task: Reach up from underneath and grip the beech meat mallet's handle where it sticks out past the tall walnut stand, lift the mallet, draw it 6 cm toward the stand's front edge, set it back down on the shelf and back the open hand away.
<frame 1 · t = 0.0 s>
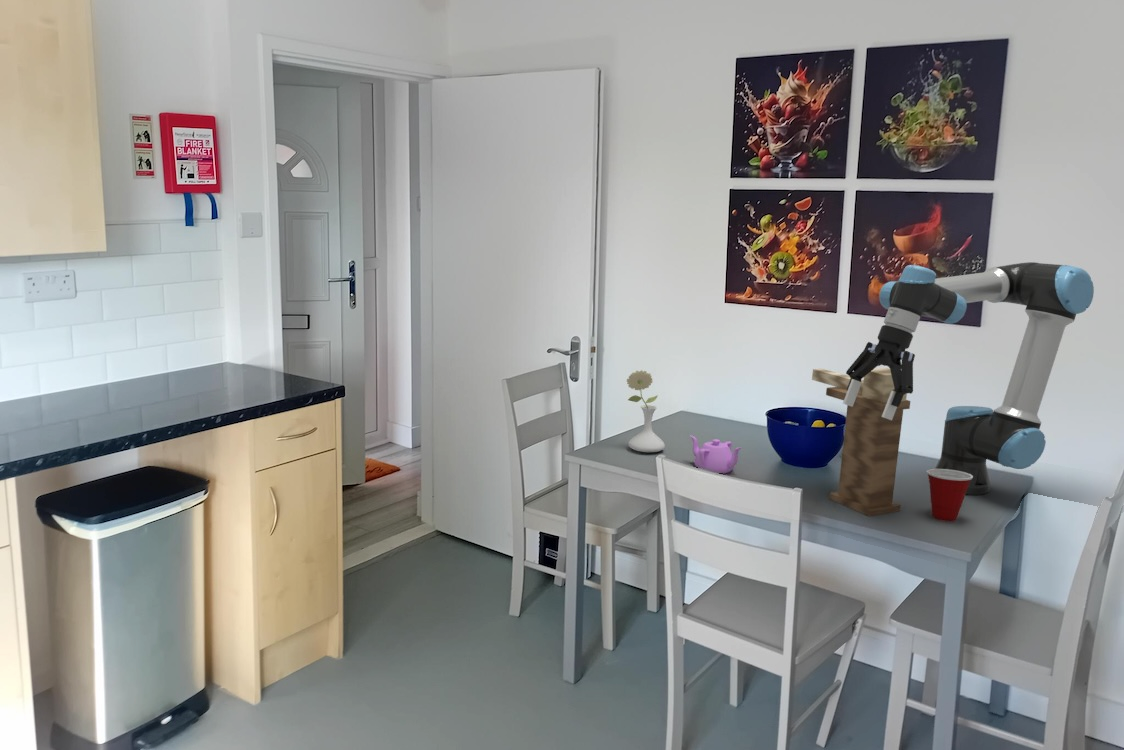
hand: (866, 411, 213), 28 cm above the table, tool tilted 20°, fingers open, 13 cm apart
walnut stand: (854, 500, 233), on the table
meat mallet: (883, 398, 222), point 29 cm above the table, touching walnut stand
flower in vase: (643, 450, 272), on the table
teapot: (713, 469, 256), on the table
plastic cup: (943, 518, 223), on the table
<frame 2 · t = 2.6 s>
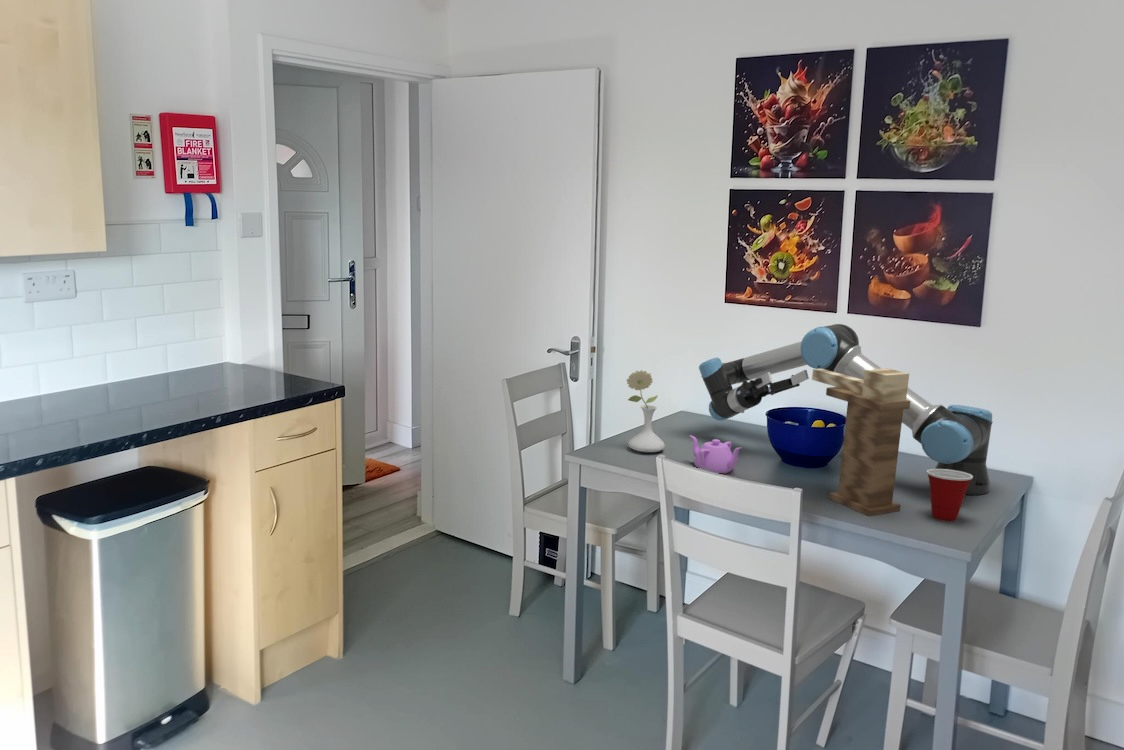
hand: (788, 375, 253), 28 cm above the table, tool pointing upward, fingers open, 13 cm apart
nothing on the table moved.
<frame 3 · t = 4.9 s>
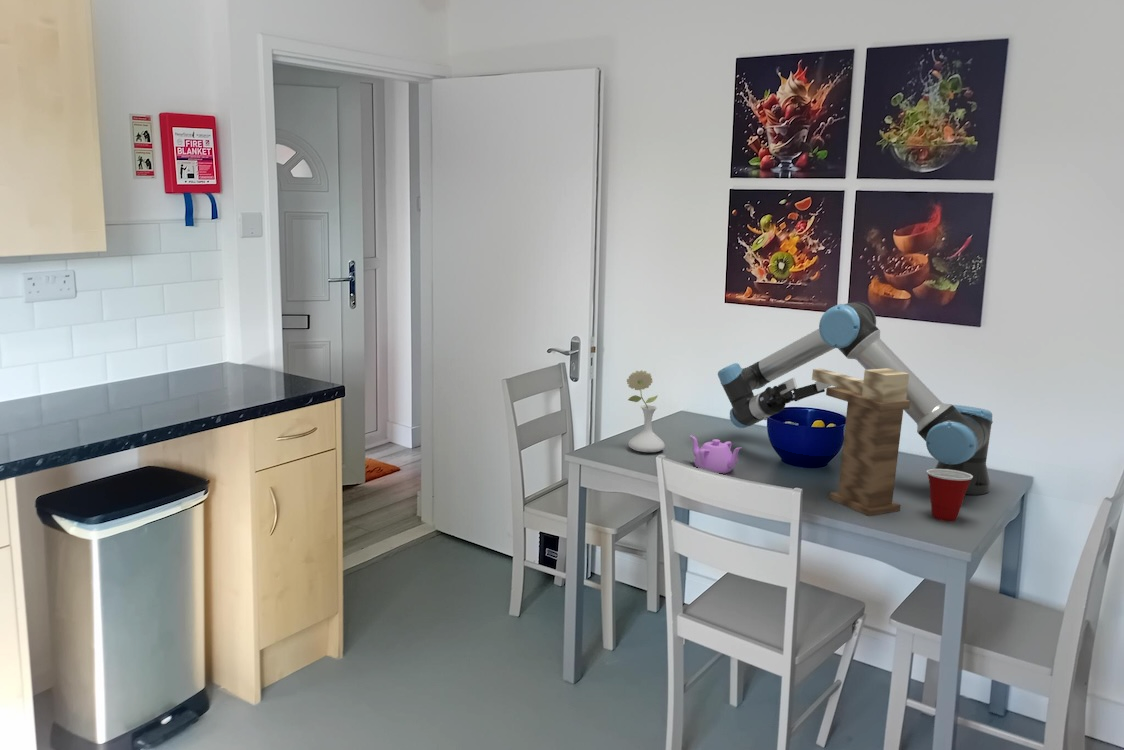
hand: (814, 380, 244), 29 cm above the table, tool pointing upward, fingers open, 13 cm apart
nothing on the table moved.
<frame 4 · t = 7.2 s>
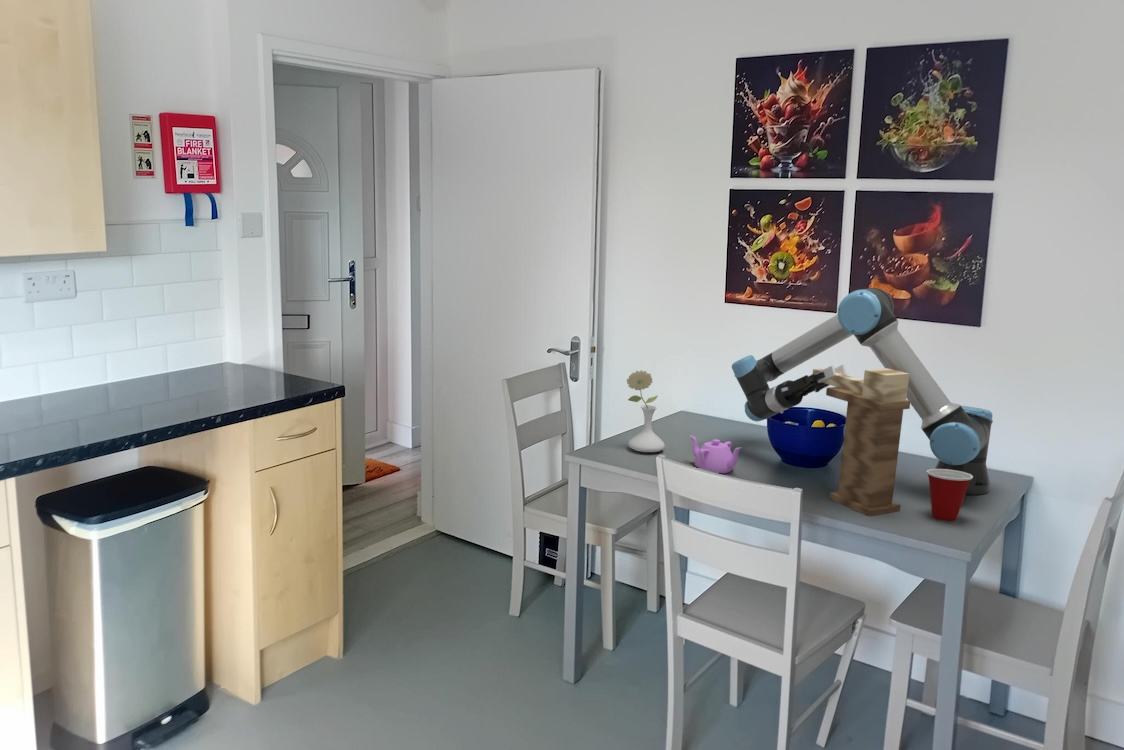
hand: (839, 370, 236), 33 cm above the table, tool pointing upward, fingers closed on meat mallet, 3 cm apart
meat mallet: (883, 398, 222), point 29 cm above the table, touching gripper, walnut stand
everything else where it was.
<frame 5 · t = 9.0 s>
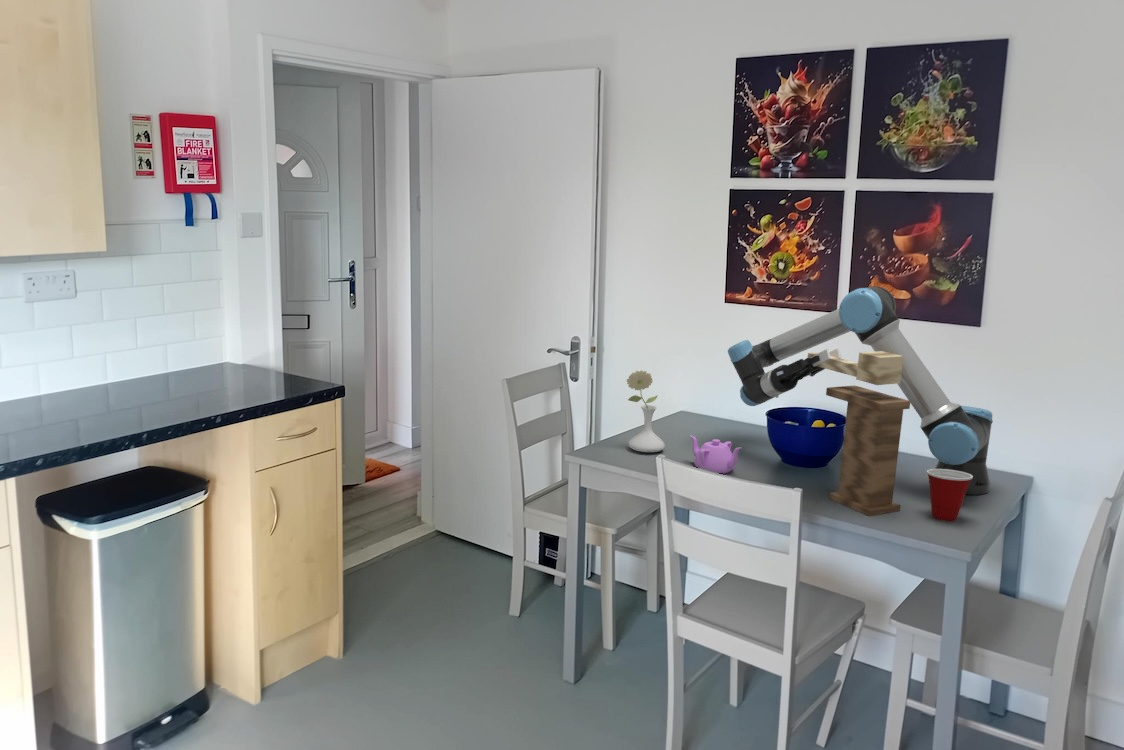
hand: (833, 353, 237), 37 cm above the table, tool pointing upward, fingers closed on meat mallet, 3 cm apart
meat mallet: (878, 381, 224), point 33 cm above the table, touching gripper
everything else where it was.
when the fingers open (34 cm above the table, at t = 10.9 s): meat mallet stays where it is, resting on walnut stand.
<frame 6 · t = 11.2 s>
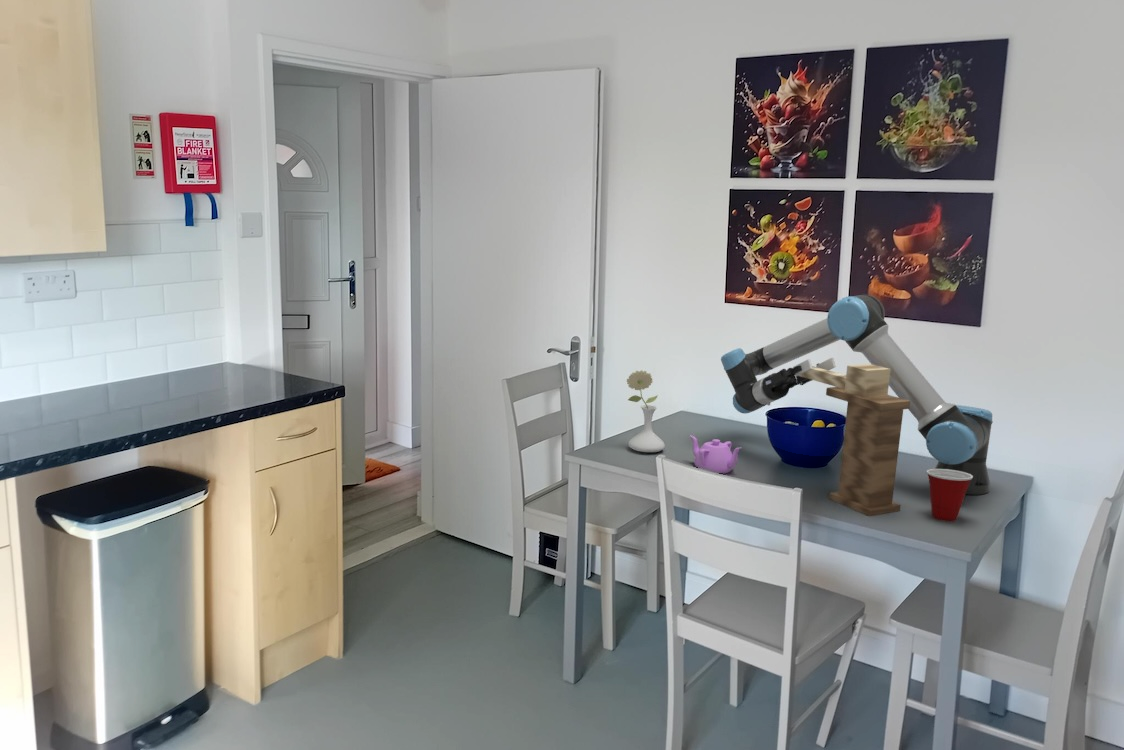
hand: (822, 363, 241), 34 cm above the table, tool pointing upward, fingers open, 8 cm apart
meat mallet: (865, 393, 228), point 29 cm above the table, touching walnut stand
everything else where it was.
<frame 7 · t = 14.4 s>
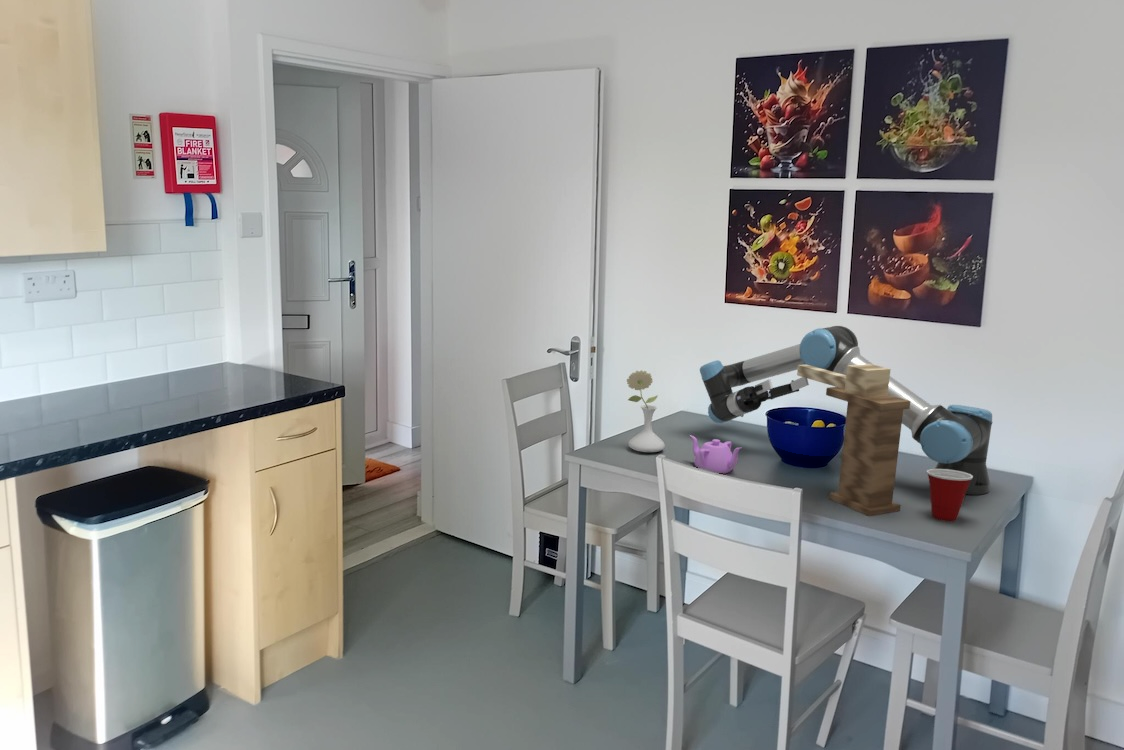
hand: (789, 382, 254), 26 cm above the table, tool pointing upward, fingers open, 13 cm apart
nothing on the table moved.
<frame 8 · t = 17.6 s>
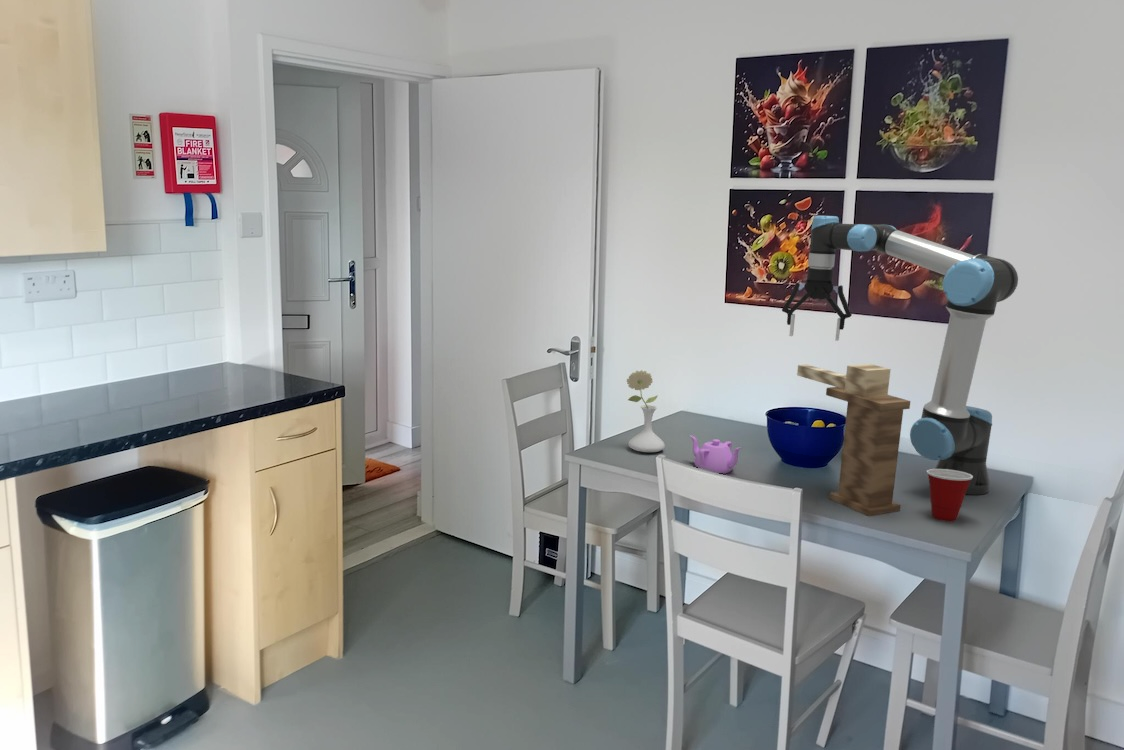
hand: (813, 338, 268), 37 cm above the table, tool pointing down, fingers open, 13 cm apart
nothing on the table moved.
at the end: meat mallet moved 6.1 cm from its start; meat mallet point 29.0 cm above the table; the gripper is holding nothing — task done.
